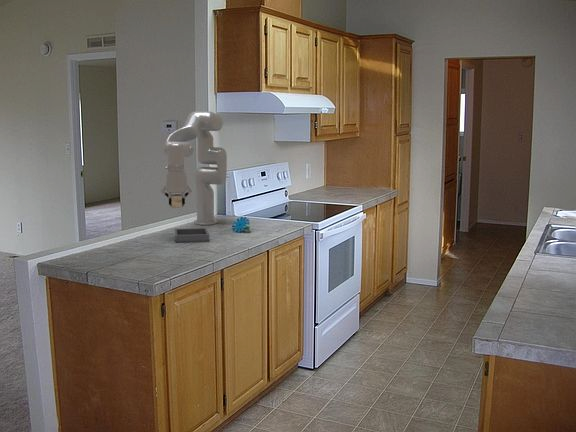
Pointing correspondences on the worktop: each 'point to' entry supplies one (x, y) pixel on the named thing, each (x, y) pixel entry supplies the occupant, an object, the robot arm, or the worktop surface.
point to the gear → (241, 224)
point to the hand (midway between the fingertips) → (176, 205)
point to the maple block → (176, 200)
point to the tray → (191, 235)
